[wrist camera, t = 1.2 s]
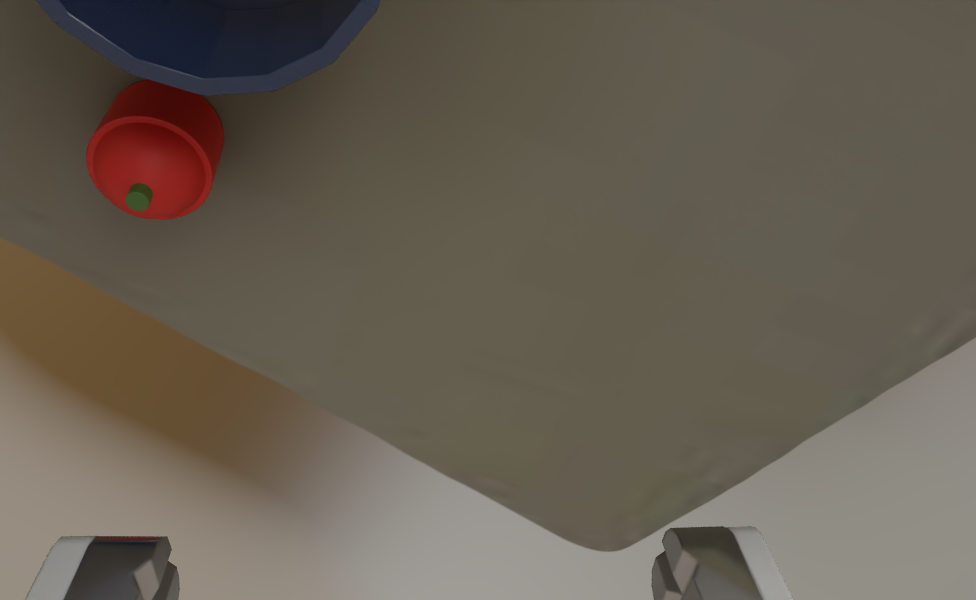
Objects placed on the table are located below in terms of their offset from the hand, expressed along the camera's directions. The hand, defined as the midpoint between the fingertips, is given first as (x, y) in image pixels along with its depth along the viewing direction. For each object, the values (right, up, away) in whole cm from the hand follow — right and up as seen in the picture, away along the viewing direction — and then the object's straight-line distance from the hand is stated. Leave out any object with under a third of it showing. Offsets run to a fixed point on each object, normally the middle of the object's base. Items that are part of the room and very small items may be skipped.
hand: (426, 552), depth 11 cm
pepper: (-16, +13, +25) cm, 33 cm away
